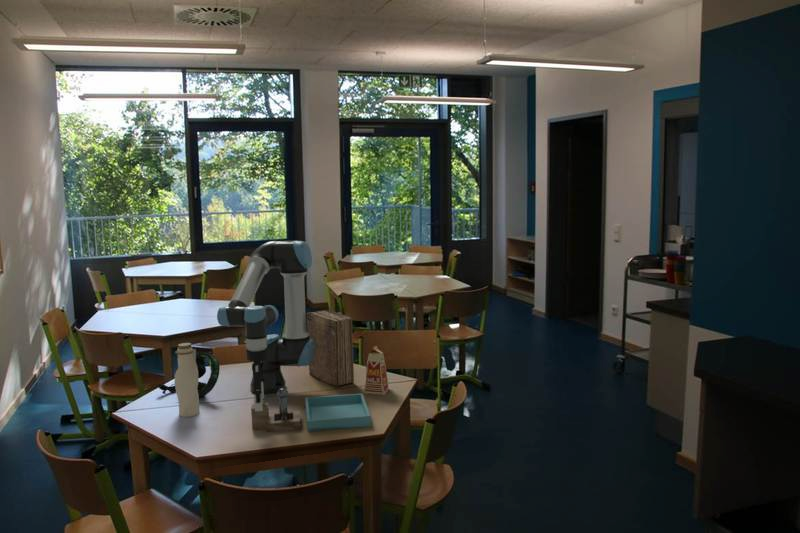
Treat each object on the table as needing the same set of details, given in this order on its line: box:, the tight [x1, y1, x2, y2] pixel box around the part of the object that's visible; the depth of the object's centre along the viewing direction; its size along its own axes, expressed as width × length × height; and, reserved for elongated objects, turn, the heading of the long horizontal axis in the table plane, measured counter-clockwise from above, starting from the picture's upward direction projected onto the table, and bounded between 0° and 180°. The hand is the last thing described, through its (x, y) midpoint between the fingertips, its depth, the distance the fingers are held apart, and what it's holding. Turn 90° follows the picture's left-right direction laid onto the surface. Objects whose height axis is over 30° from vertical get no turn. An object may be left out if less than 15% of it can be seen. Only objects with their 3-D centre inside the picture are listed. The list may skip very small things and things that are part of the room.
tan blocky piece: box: [250, 402, 301, 433], centre depth 247 cm, size 12×18×8 cm
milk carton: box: [363, 345, 389, 395], centre depth 283 cm, size 9×9×20 cm
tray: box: [304, 392, 372, 433], centre depth 255 cm, size 26×23×4 cm
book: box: [306, 308, 355, 389], centre depth 300 cm, size 25×9×30 cm, turn 35°
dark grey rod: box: [276, 387, 289, 420], centre depth 247 cm, size 4×4×14 cm
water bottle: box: [174, 342, 200, 418], centre depth 261 cm, size 10×9×28 cm
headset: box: [157, 352, 221, 397], centre depth 282 cm, size 18×14×29 cm
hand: (259, 404), depth 245 cm, fingers open, 13 cm apart
